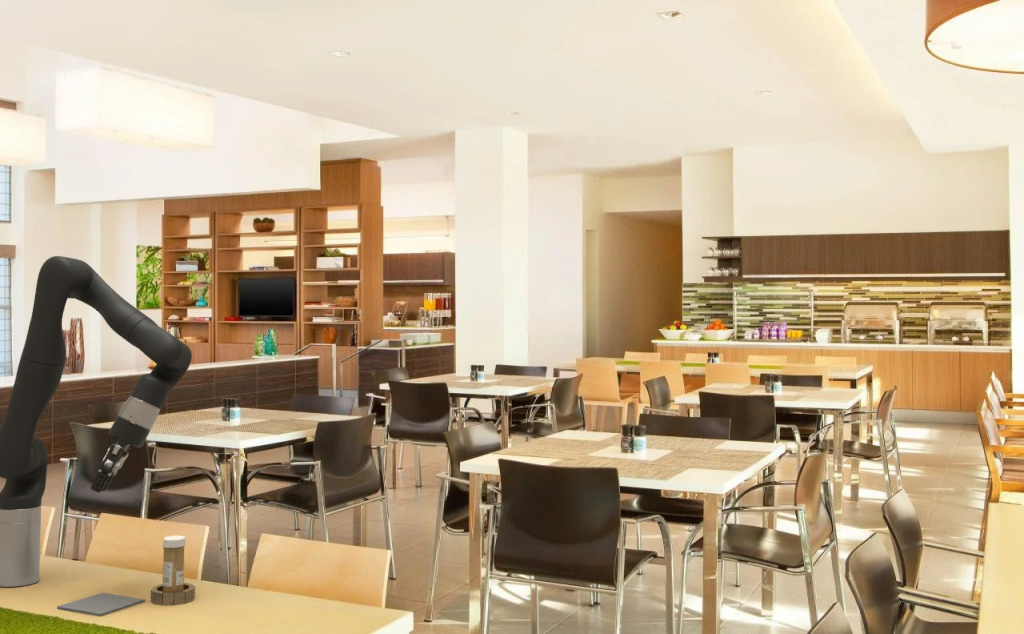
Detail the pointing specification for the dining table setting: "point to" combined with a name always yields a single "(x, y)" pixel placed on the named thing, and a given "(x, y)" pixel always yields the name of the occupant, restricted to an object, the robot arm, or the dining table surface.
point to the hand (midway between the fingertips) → (97, 490)
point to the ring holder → (172, 595)
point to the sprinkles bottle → (173, 563)
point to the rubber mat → (101, 604)
